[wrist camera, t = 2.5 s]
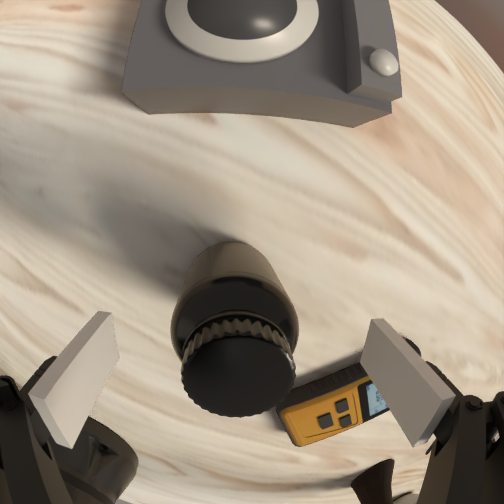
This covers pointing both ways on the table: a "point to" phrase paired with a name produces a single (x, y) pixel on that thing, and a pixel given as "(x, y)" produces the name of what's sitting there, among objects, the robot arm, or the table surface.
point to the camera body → (265, 59)
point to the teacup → (407, 499)
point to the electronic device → (331, 405)
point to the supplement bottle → (235, 332)
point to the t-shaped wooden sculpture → (375, 484)
